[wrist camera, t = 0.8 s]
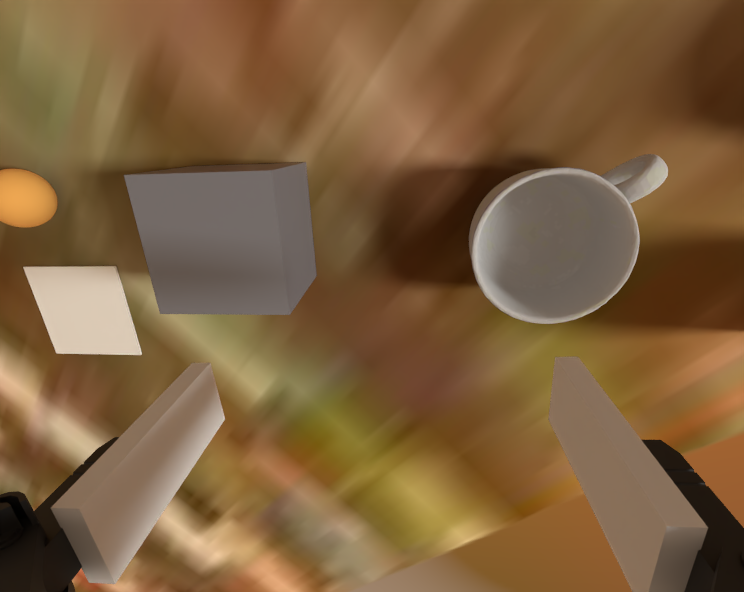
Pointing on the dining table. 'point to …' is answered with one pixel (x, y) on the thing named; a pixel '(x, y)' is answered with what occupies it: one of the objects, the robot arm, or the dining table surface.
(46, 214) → the ball
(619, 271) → the teacup
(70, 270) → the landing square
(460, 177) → the dining table surface
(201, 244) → the grey block
